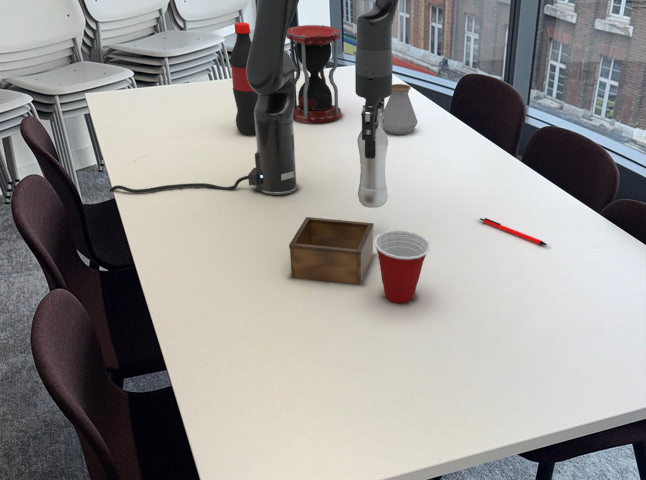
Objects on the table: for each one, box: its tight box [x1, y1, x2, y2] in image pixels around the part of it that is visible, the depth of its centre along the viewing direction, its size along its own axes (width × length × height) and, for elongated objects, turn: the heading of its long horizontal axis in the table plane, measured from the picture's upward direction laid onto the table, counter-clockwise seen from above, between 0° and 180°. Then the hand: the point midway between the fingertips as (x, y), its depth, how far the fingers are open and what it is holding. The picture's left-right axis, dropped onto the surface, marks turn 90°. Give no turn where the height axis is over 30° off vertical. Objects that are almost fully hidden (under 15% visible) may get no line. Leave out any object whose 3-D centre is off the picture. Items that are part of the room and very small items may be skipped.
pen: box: [479, 217, 548, 246], centre depth 175 cm, size 1×19×1 cm, turn 46°
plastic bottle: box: [357, 115, 389, 209], centre depth 165 cm, size 6×7×20 cm
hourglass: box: [286, 24, 342, 125], centre depth 234 cm, size 16×16×25 cm
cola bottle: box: [229, 22, 259, 137], centre depth 219 cm, size 8×8×30 cm
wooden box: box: [288, 216, 375, 285], centre depth 159 cm, size 15×14×7 cm
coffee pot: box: [382, 83, 418, 136], centre depth 231 cm, size 21×12×15 cm, turn 26°
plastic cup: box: [374, 229, 431, 304], centre depth 148 cm, size 11×11×12 cm
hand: (373, 151), depth 164 cm, fingers closed on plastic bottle, 6 cm apart
